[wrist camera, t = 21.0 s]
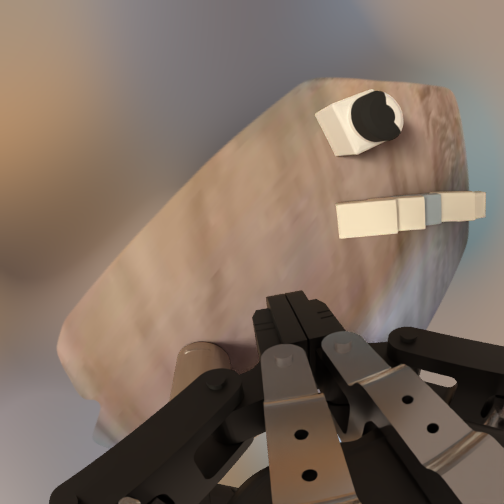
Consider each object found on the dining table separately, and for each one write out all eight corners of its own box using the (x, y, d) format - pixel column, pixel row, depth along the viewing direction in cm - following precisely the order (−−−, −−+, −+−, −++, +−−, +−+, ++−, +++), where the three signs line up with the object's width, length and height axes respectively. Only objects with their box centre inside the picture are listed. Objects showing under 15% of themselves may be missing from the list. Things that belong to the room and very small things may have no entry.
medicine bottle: (335, 157, 39) (376, 154, 27) (313, 114, 36) (347, 94, 25) (371, 140, 38) (418, 133, 27) (351, 98, 36) (393, 79, 25)
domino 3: (392, 226, 42) (436, 221, 41) (396, 228, 41) (441, 223, 39) (390, 196, 41) (435, 192, 40) (394, 197, 39) (440, 194, 38)
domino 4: (430, 219, 43) (471, 218, 39) (432, 221, 41) (475, 220, 38) (429, 192, 42) (471, 191, 38) (431, 193, 40) (474, 192, 36)
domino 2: (370, 229, 42) (422, 226, 39) (371, 232, 41) (425, 228, 38) (368, 198, 41) (421, 195, 38) (369, 200, 39) (424, 196, 36)
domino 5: (453, 219, 42) (479, 215, 43) (459, 221, 41) (485, 217, 41) (453, 193, 41) (479, 191, 41) (459, 194, 39) (485, 192, 40)
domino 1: (338, 235, 42) (394, 230, 39) (339, 238, 40) (397, 233, 38) (335, 203, 40) (392, 198, 38) (336, 204, 39) (395, 199, 36)
